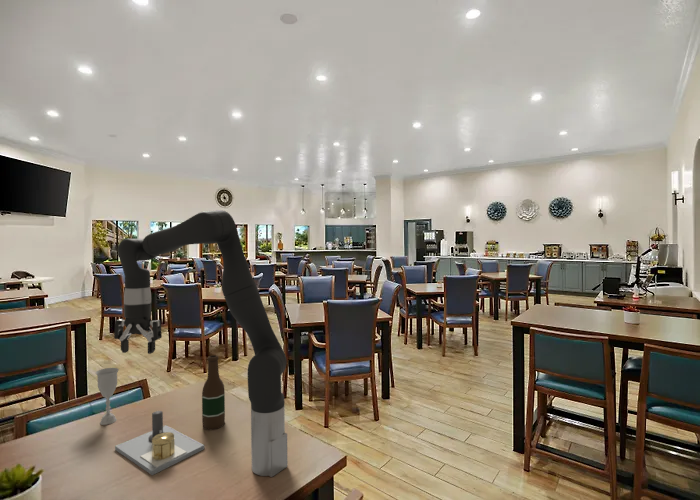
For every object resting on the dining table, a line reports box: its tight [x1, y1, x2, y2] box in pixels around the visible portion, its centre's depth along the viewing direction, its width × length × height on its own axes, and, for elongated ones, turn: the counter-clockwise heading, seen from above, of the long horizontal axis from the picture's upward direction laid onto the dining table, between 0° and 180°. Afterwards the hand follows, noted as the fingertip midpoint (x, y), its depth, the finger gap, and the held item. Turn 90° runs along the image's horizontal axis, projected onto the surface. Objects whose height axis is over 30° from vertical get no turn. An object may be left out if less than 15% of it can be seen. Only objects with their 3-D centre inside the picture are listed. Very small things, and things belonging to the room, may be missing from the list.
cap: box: [152, 432, 175, 460], centre depth 110 cm, size 7×6×5 cm
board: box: [114, 410, 205, 476], centre depth 116 cm, size 22×16×9 cm
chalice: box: [95, 367, 119, 426], centre depth 134 cm, size 7×7×18 cm
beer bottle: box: [201, 354, 226, 431], centre depth 131 cm, size 8×8×24 cm
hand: (138, 352), depth 120 cm, fingers open, 8 cm apart
